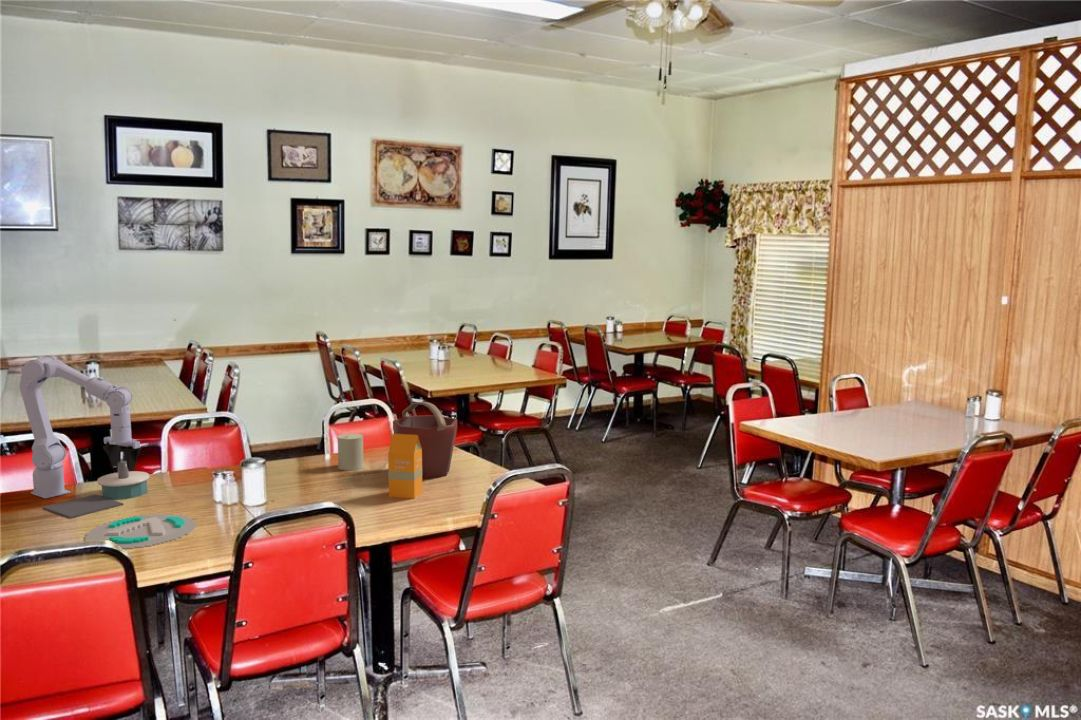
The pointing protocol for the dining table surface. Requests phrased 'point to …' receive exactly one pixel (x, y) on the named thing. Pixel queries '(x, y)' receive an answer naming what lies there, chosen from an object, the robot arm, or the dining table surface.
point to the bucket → (430, 438)
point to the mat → (82, 506)
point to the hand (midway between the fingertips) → (123, 467)
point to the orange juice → (405, 466)
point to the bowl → (124, 491)
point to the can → (350, 451)
